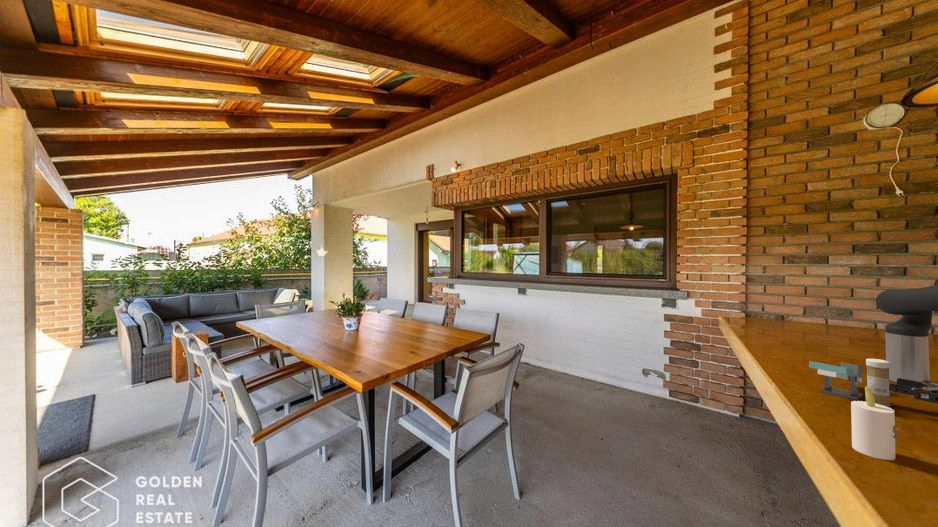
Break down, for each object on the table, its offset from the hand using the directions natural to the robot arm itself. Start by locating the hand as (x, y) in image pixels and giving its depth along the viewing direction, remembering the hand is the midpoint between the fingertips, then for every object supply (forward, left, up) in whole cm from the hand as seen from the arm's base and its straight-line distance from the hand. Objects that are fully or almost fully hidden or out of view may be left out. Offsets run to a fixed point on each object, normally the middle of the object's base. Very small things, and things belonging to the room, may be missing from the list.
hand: (893, 384), depth 97 cm
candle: (+40, +4, -7) cm, 41 cm away
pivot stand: (-1, -11, -7) cm, 13 cm away
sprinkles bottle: (0, -3, -7) cm, 8 cm away
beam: (-1, -11, -2) cm, 11 cm away
